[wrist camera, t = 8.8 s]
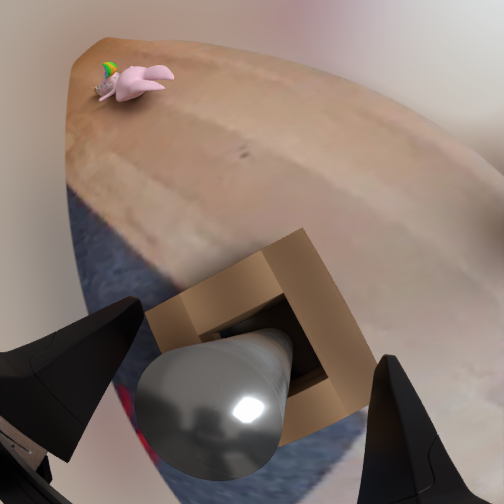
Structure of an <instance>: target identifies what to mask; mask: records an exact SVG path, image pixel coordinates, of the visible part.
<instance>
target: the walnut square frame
mask: <svg viewBox="0 0 504 504" xmlns="http://www.w3.org/2000/svg"><path fill="white" fill-rule="evenodd" d="M286 298H287V300H288V302H289V304H290V306H291V308H292V310H293V311H294V313H295V315H296V317H297V319H298V321H299V323H300V325H301V327H302V328H303V330H304V332H305V334H306V336H307V338H308V340H309V342H310V344H311V345H312V347H313V349H314V351H315V353H316V355H317V357H318V359H319V361H320V363H321V364H322V366H320V367H318V368H316V369H314V370H312V371H310V372H308V373H306V374H304V375H302V376H300V377H298V378H296V379H294V380H292V381H290V382H289V389H288V396H287V403H286V409H285V416H284V422H283V428H282V434H281V439H280V442H279V445H278V447H281V446H283V445H286V444H288V443H291V442H293V441H296V440H298V439H301V438H303V437H305V436H308V435H310V434H312V433H314V432H317V431H319V430H321V429H323V428H325V427H327V426H329V425H331V424H333V423H335V422H337V421H339V420H341V419H343V418H345V417H347V416H349V415H351V414H353V413H354V412H356V411H358V410H360V409H362V408H363V407H365V406H367V405H369V403H370V396H371V390H372V382H373V375H374V370H375V368H376V366H377V363H376V360H375V358H374V356H373V354H372V352H371V350H370V348H369V346H368V344H367V342H366V340H365V338H364V337H363V335H362V333H361V331H360V329H359V327H358V325H357V323H356V321H355V319H354V317H353V315H352V314H351V312H350V310H349V308H348V306H347V304H346V302H345V301H344V299H343V297H342V295H341V293H340V291H339V290H338V288H337V286H336V284H335V282H334V281H333V279H332V277H331V275H330V274H329V272H328V270H327V268H326V267H325V265H324V263H323V261H322V260H321V258H320V256H319V254H318V253H317V251H316V249H315V248H314V246H313V244H312V243H311V241H310V239H309V237H308V236H307V234H306V232H305V231H304V229H303V228H301V229H299V230H297V231H295V232H293V233H291V234H290V235H288V236H286V237H284V238H282V239H280V240H278V241H277V242H275V243H273V244H271V245H269V246H267V247H265V248H264V249H262V250H260V251H258V252H256V253H254V254H253V255H251V256H249V257H247V258H245V259H243V260H241V261H240V262H238V263H236V264H234V265H232V266H230V267H228V268H226V269H225V270H223V271H221V272H219V273H217V274H215V275H213V276H212V277H210V278H208V279H206V280H204V281H202V282H200V283H199V284H197V285H195V286H193V287H191V288H189V289H187V290H186V291H184V292H182V293H180V294H178V295H176V296H174V297H172V298H171V299H169V300H167V301H165V302H163V303H161V304H159V305H158V306H156V307H154V308H152V309H150V310H148V311H146V312H145V315H146V317H147V320H148V323H149V325H150V328H151V330H152V332H153V335H154V337H155V340H156V342H157V344H158V347H159V349H160V351H161V354H164V353H166V352H168V351H171V350H174V349H177V348H182V347H186V346H191V345H196V344H201V343H206V342H211V341H215V340H220V339H222V338H221V336H220V332H222V331H224V330H226V329H228V328H230V327H232V326H234V325H236V324H238V323H240V322H242V321H244V320H246V319H248V318H250V317H252V316H254V315H256V314H258V313H260V312H262V311H264V310H266V309H267V308H269V307H271V306H273V305H275V304H277V303H279V302H281V301H283V300H285V299H286Z"/></svg>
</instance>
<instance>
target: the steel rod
mask: <svg viewBox="0 0 504 504" xmlns="http://www.w3.org/2000/svg"><path fill="white" fill-rule="evenodd" d="M292 358H293V345H292V342H291V340H290V338H289V337H288V335H287V334H285V333H284V332H283V331H281V330H279V329H275V328H265V329H261V330H257V331H253V332H249V333H245V334H241V335H237V336H233V337H228V338H224V339H220V340H215V341H211V342H206V343H201V344H196V345H191V346H186V347H182V348H177V349H174V350H171V351H168V352H166V353H164V354H162V355H160V356H159V357H158V358H156V359H155V360H154V361H152V362H151V364H150V365H149V366H148V367H147V368H146V369H145V371H144V372H143V374H142V376H141V378H140V380H139V382H138V385H137V388H136V394H135V411H136V416H137V421H138V424H139V427H140V429H141V431H142V433H143V435H144V437H145V439H146V440H147V442H148V444H149V445H150V446H151V447H152V449H153V450H154V451H155V452H156V453H157V454H158V455H159V456H160V457H161V458H162V459H163V460H164V461H166V462H167V463H168V464H169V465H171V466H172V467H174V468H175V469H177V470H179V471H181V472H183V473H185V474H188V475H190V476H193V477H196V478H200V479H205V480H211V481H228V480H234V479H239V478H242V477H245V476H248V475H250V474H252V473H254V472H256V471H257V470H259V469H260V468H262V467H263V466H264V465H265V464H266V463H267V462H268V461H269V460H270V459H271V457H272V456H273V455H274V453H275V451H276V449H277V448H278V445H279V442H280V439H281V434H282V428H283V422H284V416H285V409H286V403H287V396H288V389H289V382H290V374H291V366H292Z"/></svg>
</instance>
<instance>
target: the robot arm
mask: <svg viewBox="0 0 504 504" xmlns="http://www.w3.org/2000/svg"><path fill="white" fill-rule="evenodd" d="M143 319H144V311H143V307H142V304H141V301H140V299H139V298H137V297H134V296H128V297H126V298H124V299H122V300H120V301H118V302H116V303H113V304H111V305H109V306H107V307H105V308H103V309H101V310H99V311H97V312H95V313H93V314H91V315H89V316H86V317H84V318H82V319H80V320H78V321H76V322H74V323H72V324H70V325H68V326H66V327H64V328H62V329H60V330H58V331H57V332H54V333H52V334H50V335H47V336H45V337H43V338H41V339H39V340H36V341H34V342H31V343H29V344H27V345H24V346H21V347H19V348H16V349H14V350H11V351H8V352H0V500H1V501H2V502H3V503H4V504H72V503H71V502H70V501H68V500H67V499H66V498H65V497H64V496H62V495H61V494H60V493H59V492H57V491H56V490H55V489H54V488H53V487H51V486H50V485H49V484H50V482H51V481H52V474H51V471H50V466H49V460H48V456H47V455H46V454H47V452H50V453H51V454H53V455H55V456H56V457H58V458H60V459H61V460H63V461H65V462H66V463H68V462H69V461H70V459H71V457H72V455H73V452H74V450H75V449H76V447H77V445H78V442H79V440H80V439H81V437H82V434H83V433H84V431H85V428H86V426H87V425H88V423H89V421H90V419H91V417H92V415H93V413H94V411H95V409H96V407H97V406H98V404H99V402H100V400H101V398H102V396H103V395H104V393H105V391H106V389H107V387H108V386H109V384H110V382H111V380H112V379H113V377H114V375H115V373H116V371H117V370H118V368H119V366H120V365H121V363H122V361H123V359H124V358H125V356H126V354H127V352H128V351H129V349H130V347H131V345H132V343H133V340H134V338H135V336H136V334H137V332H138V330H139V327H140V325H141V323H142V321H143ZM357 504H491V503H489V502H487V501H485V500H483V499H481V498H479V497H477V496H476V495H474V494H473V493H472V492H471V491H470V490H469V489H468V487H467V486H466V484H465V483H464V481H463V479H462V477H461V476H460V474H459V472H458V471H457V469H456V467H455V466H454V464H453V462H452V460H451V459H450V457H449V455H448V453H447V451H446V449H445V447H444V445H443V443H442V441H441V439H440V437H439V435H438V434H437V431H436V429H435V427H434V425H433V423H432V421H431V419H430V417H429V415H428V413H427V412H426V410H425V408H424V406H423V404H422V402H421V400H420V398H419V396H418V395H417V393H416V391H415V389H414V387H413V386H412V384H411V382H410V380H409V378H408V377H407V375H406V373H405V371H404V370H403V368H402V366H401V364H400V363H399V361H398V359H397V358H396V356H394V355H387V354H385V355H383V357H382V358H381V360H380V361H379V363H378V365H377V366H376V368H375V370H374V375H373V382H372V390H371V396H370V403H369V409H368V419H367V433H366V444H365V454H364V462H363V470H362V477H361V484H360V490H359V496H358V501H357Z"/></svg>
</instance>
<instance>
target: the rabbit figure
mask: <svg viewBox="0 0 504 504" xmlns="http://www.w3.org/2000/svg"><path fill="white" fill-rule="evenodd" d="M103 66H104V68H105V75H104V76H105V78H104V79H103V80H102V81H101V83H100V85H99V86H98V87H94V88H93V87H91V88H93V91H94V93H95V95H96V94H98V95H100V96H102V97H101V98H100V99H99V102H102V101H104V100H105V99H107V98H108V97H110V96H112V95H113V94H115V93H116V100H117V101H119V102H122V101H127V100H129V99H133V98H136V97H138V96H140V95H142V94H143V93H144V92H145V91H156V90H163V89H165V87H164V86H162V85H160V84H158V83H157V82H154V81H151V80H173V79H174V76H173V74H172V72H171V71H170V70H169V69H168V68H167V67H165V66H162V65H156V66H152V67H150V68H144V67H139V66H137V67H133V66H130V68H129V69H127V70H125V71H124V72H122V73H121V75H120V74H119V73H117V72H116V70H117V66H116V65H115V64H114V63H111V62H105V63H103Z"/></svg>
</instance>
